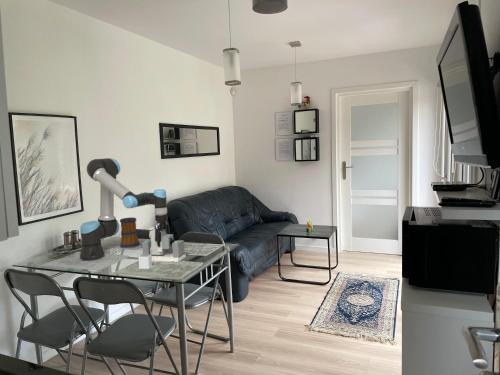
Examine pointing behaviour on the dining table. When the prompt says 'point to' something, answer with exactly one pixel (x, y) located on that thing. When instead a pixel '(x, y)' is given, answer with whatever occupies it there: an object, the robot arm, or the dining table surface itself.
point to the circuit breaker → (166, 242)
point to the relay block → (145, 261)
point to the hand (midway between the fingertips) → (163, 249)
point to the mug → (128, 233)
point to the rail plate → (175, 256)
